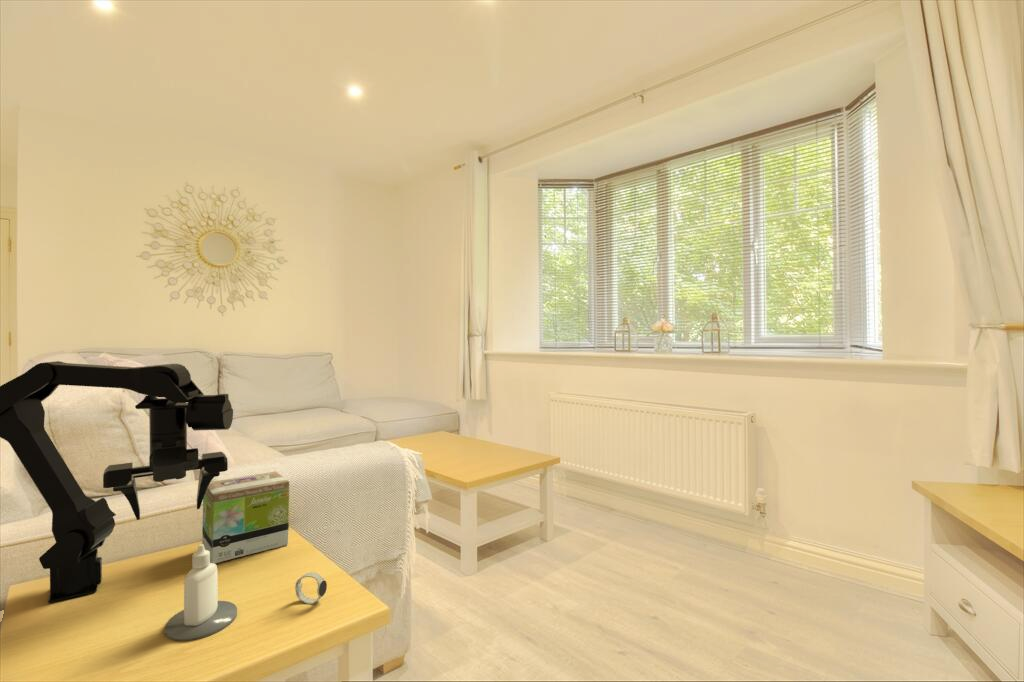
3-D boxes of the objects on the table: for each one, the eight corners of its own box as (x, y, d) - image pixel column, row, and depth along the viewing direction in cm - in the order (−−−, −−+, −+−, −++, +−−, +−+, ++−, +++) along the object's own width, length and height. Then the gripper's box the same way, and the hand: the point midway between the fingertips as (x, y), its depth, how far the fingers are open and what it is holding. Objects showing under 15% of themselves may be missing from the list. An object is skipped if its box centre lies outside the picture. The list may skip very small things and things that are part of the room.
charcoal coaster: (165, 649, 73) (165, 645, 73) (164, 616, 82) (164, 613, 82) (241, 625, 79) (241, 622, 79) (233, 597, 87) (232, 594, 87)
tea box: (212, 567, 99) (211, 494, 98) (201, 549, 106) (201, 482, 106) (290, 545, 109) (290, 479, 108) (275, 531, 116) (275, 469, 116)
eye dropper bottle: (226, 612, 82) (225, 541, 82) (190, 630, 77) (189, 555, 77) (212, 604, 84) (211, 535, 84) (176, 621, 79) (175, 548, 79)
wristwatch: (319, 607, 85) (319, 579, 85) (292, 604, 86) (292, 576, 86) (328, 598, 88) (328, 570, 88) (302, 595, 88) (302, 568, 88)
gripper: (99, 446, 80) (101, 541, 80) (231, 433, 91) (231, 516, 91) (105, 434, 89) (106, 519, 89) (224, 423, 100) (224, 499, 100)
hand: (169, 513), depth 92 cm, fingers open, 9 cm apart
